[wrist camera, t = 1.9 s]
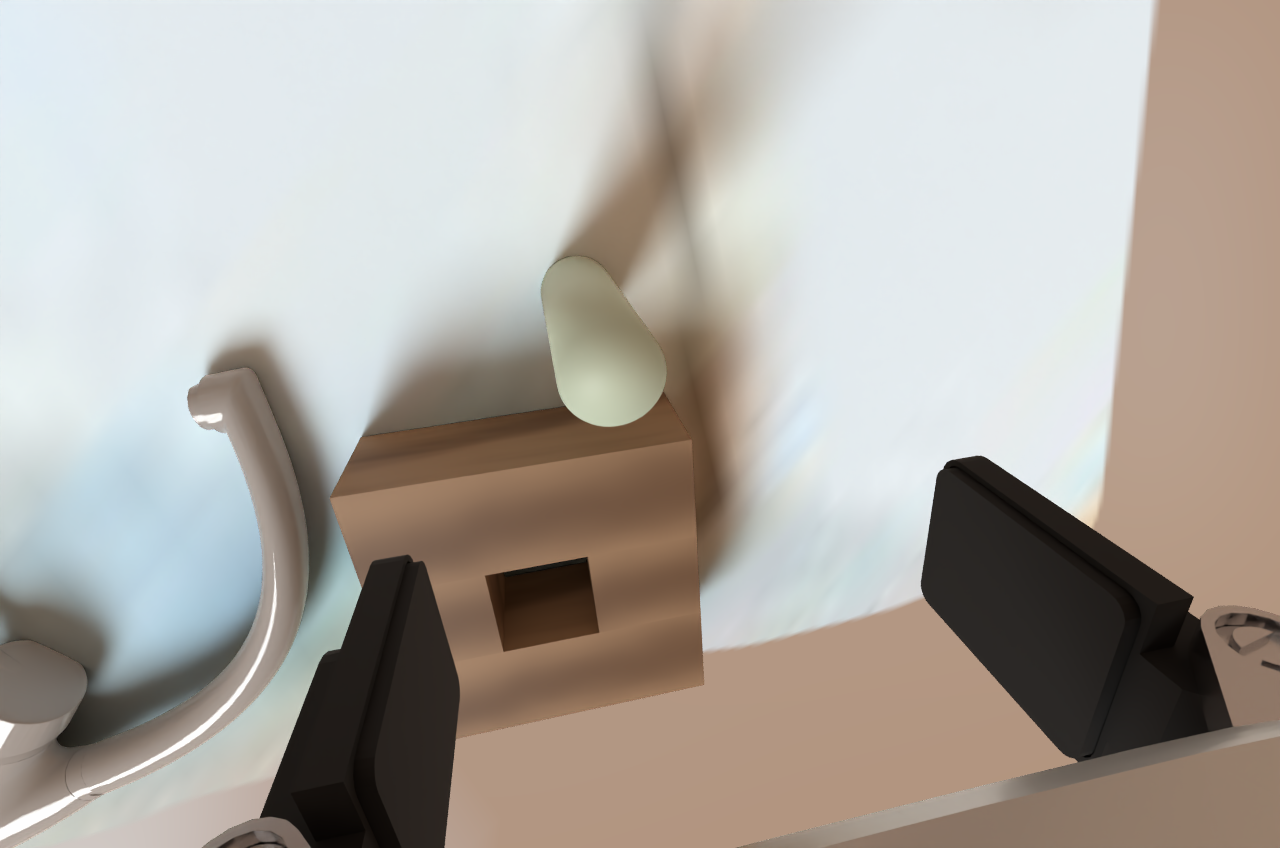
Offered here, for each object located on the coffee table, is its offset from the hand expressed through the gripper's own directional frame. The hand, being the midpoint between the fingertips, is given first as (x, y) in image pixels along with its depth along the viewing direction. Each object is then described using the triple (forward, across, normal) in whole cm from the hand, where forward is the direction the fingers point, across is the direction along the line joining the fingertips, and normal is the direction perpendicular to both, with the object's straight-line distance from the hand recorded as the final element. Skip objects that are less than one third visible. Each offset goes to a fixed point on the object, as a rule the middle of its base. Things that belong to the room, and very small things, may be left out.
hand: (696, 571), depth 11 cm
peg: (+22, 0, 0) cm, 22 cm away
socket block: (+22, +4, +14) cm, 26 cm away
